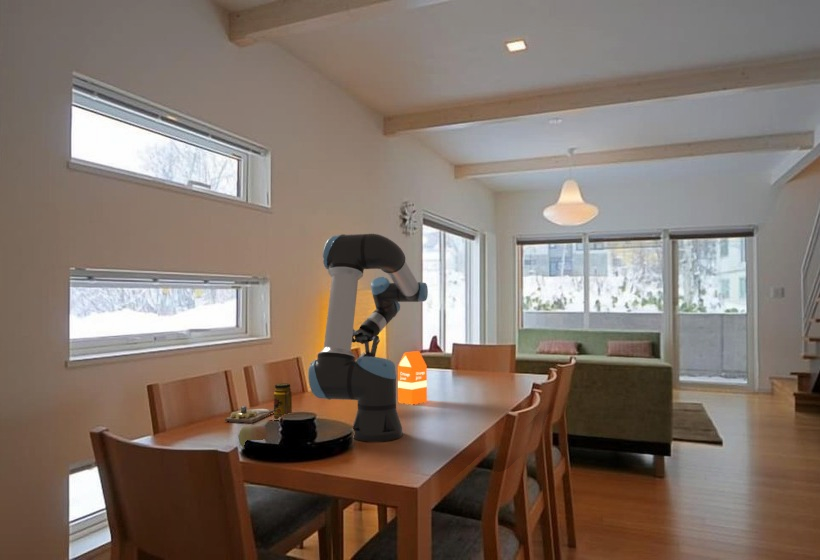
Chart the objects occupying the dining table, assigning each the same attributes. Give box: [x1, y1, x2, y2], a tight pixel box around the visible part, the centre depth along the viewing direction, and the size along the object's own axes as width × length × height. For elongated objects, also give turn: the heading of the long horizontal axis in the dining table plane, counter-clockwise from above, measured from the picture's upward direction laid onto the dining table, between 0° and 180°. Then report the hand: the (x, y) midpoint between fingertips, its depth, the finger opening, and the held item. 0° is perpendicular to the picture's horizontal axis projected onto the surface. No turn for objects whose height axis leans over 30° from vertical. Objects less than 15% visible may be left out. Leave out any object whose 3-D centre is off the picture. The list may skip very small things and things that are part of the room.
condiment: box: [273, 383, 293, 419], centre depth 190 cm, size 7×8×12 cm
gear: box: [230, 406, 257, 419], centre depth 188 cm, size 9×9×3 cm
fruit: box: [238, 420, 268, 449], centre depth 152 cm, size 8×7×8 cm
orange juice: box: [397, 350, 428, 406], centre depth 216 cm, size 8×9×20 cm
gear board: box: [224, 408, 274, 424], centre depth 191 cm, size 16×10×1 cm, turn 167°
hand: (340, 361), depth 203 cm, fingers open, 13 cm apart
